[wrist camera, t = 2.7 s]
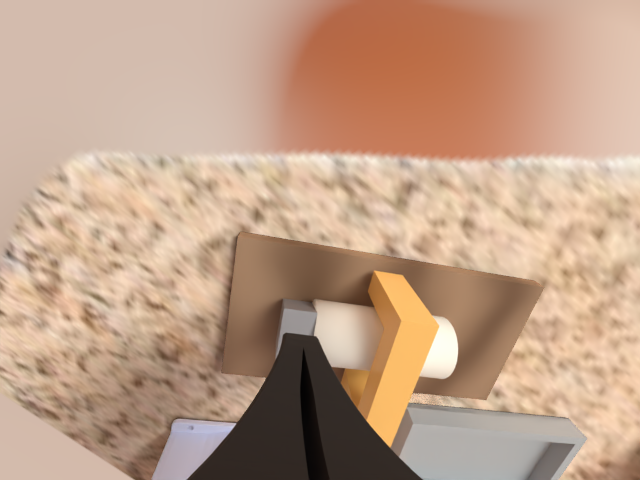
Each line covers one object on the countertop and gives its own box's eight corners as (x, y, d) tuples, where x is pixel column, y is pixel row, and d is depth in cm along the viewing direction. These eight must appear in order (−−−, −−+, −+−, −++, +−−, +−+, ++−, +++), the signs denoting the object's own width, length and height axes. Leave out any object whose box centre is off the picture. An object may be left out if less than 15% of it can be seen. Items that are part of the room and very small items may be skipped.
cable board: (224, 363, 23) (221, 372, 22) (240, 231, 19) (237, 236, 19) (479, 390, 26) (486, 399, 25) (533, 280, 22) (544, 287, 22)
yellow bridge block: (340, 384, 23) (353, 458, 18) (373, 270, 19) (401, 320, 14) (365, 386, 23) (385, 460, 18) (402, 275, 20) (439, 325, 15)
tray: (375, 475, 29) (381, 498, 27) (404, 402, 26) (413, 423, 24) (524, 484, 31) (539, 506, 29) (568, 418, 28) (587, 438, 26)
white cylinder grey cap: (274, 346, 21) (273, 372, 17) (284, 290, 21) (285, 301, 17) (421, 363, 22) (452, 390, 18) (429, 310, 22) (462, 326, 18)
